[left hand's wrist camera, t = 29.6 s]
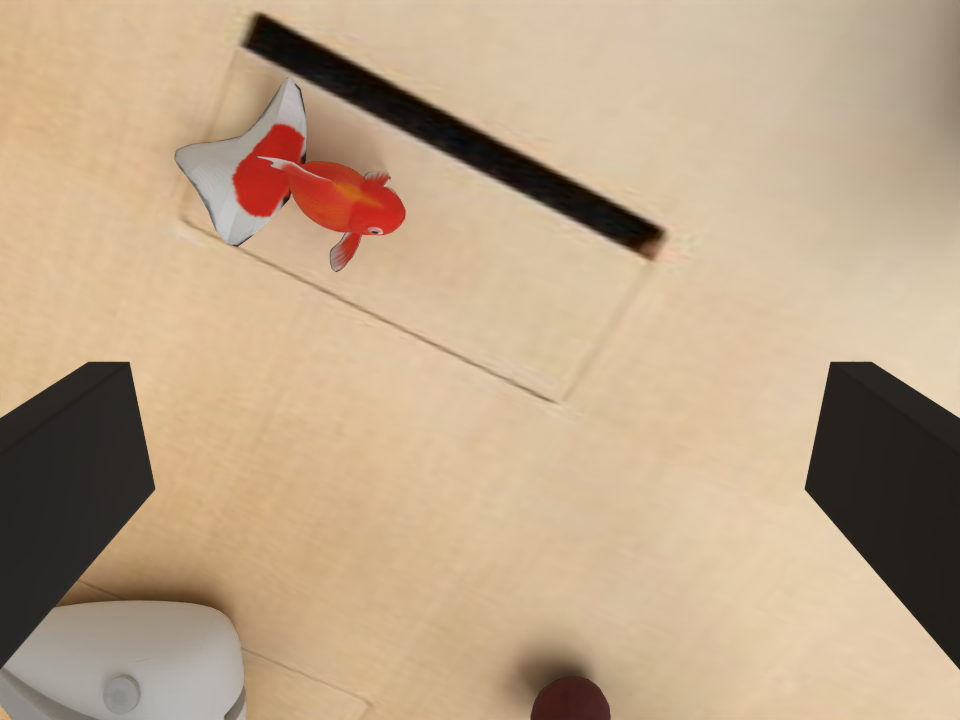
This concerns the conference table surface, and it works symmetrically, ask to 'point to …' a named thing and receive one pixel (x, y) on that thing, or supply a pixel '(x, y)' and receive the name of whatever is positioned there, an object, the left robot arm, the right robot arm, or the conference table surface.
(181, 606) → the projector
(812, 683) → the conference table surface
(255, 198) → the fish
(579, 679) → the dark maroon ball
